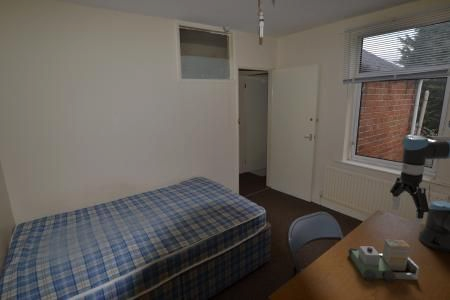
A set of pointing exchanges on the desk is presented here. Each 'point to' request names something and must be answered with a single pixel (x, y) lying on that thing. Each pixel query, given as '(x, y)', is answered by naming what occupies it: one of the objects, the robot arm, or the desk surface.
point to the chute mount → (407, 271)
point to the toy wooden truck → (370, 263)
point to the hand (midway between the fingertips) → (405, 215)
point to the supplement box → (395, 254)
